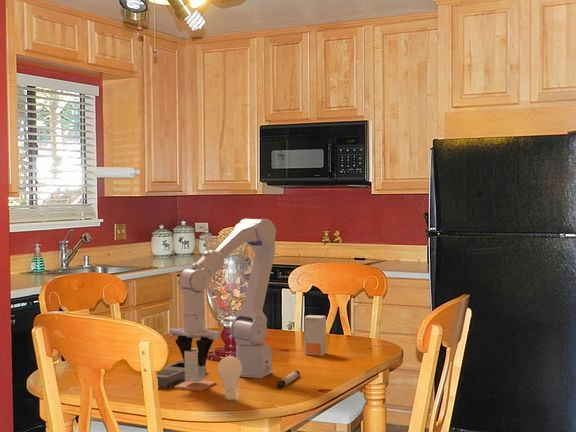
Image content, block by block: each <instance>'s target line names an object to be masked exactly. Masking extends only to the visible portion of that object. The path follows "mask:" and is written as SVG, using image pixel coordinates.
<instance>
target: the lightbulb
mask: <svg viewBox="0 0 576 432" xmlns="http://www.w3.org/2000/svg"><path fill="white" fill-rule="evenodd" d="M216 371H217V373H218V376H219V378H220V379H221V382H222V385H223V390H224V397H225V399H227V400H228V401H233V400H234V399H236V393H237V392H236V390H237V388H238V387H237V385H238V381H239V379H240V375H241V372H242V365H241V362H240V361H239V360H238V359H237V358H236V356H233V355H229V356H227V355H226V356H224V357H223V358H222V359H221V358H220V360H219V362H218V365H217V370H216Z"/></svg>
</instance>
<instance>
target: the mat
mask: <svg viewBox="0 0 576 432" xmlns="http://www.w3.org/2000/svg"><path fill="white" fill-rule="evenodd" d="M216 384H217V382H216V381H211V380H210V381H209V380H202V381H200V382H190V381H185V382H182V383H180V384H178V385H175V386H173V387H174V388H173V389H174V390H175V389H176V390H184V389H186V391H187V390H188V391H197V392H203V391H204V390H206V389H208V387H209V388H210V386H211V387H212V385H213V386H214V385H216Z"/></svg>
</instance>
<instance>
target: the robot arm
mask: <svg viewBox="0 0 576 432" xmlns="http://www.w3.org/2000/svg"><path fill="white" fill-rule="evenodd" d="M277 230H278V229H276V227H275V224H274V223H273V222H272V221H271V220H270V219H268V218H261V219H260V218H248V217H245V218H243V219H241V220H240V221H239V223H237V224H235V227H234V229H233V231H232V232H231V233H230V234H229V235H228V236H227V237H226V238H225V239H224V240H223V242H221V243H220V245H219V246H217V248H216V249H215V250H213V249H210V250H205V251H204V252H203V253H202V256H201V257H200V258H199V259H198V260H196V262H194V263H192V264H191V267H190V268H186V269H184V270H183V271H182V272H181V273H180V275H179V278H178V279H177V284H178V286H179V288H180V289H181V295H182V323H183V325H182V326H183V328H170V329H169V330H168V336H169V337H170V338H173V337H174V338H175V337H176V339H175V344H176V345H177V347H178V348H179V349H178V350H179V351H180V354H181V356H182V357H181V358H182V360H184V351H186V350H188V349H191V348H192V346H193V345H192V343H193V339H198V340H196V341H195V344H196V346H197V348H196V349H198V354H199V366H204V365H205V364H206V365H207V358H208V354H209V351H210V349H211V346H212V345H213V343H214V341H217V340H220V339H221V333H220V331H217V330H216V331H215V330H210V329H206V315H205V310H206V309H205V307H206V306H205V290H206V289H207V288H208V286H209V283H210V280H211V278H212V277H213V276H214V275H215V274H217V273H218V272H219V270H221V268H224V267H223V266H224V265H225V259H226V258H227V257H229V256H230V255H231V254H232V253H233V252H234V251H236V250H237V249H238V248H240V246H242V244H244V243H246V244H247V245H248V246H250V248H251V249H252V250H253V253H254V258H253V262H252V267H251V272H250V276H249V279H248V285H247V288H246V293H245V298H244V303H243V307H241V308H240V309H239V310H238V311H237V312H236V313H235V318H234V319H233V321H232V323H231V325H230V334H231V336H232V338H234V343H235V347H236V348H235V350H236V351H235V352H236V354H235V355H236V356H235V357H236V358H237V359H238V360H239V361H240V362H241V365H242V372H241V375H240V377H241V378H251V379H263V378H265V377H266V376H269V375H270V374H272V373H273V370H272V348H271V346H270V345H269V344H265V343H264V341H265V339H266V338H267V335H268V327H267V326H268V325H267V322H268V317H267V316H266V314H265V313H264V311H263V310H264V305H265V300H266V295H267V291H268V287H269V282H270V276H271V272H272V268H273V264H274V258H275V253H276V243H275V242H276V241H275V239H276V236H277ZM184 364H185V361H184ZM240 377H239V378H240Z"/></svg>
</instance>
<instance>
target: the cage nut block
mask: <svg viewBox="0 0 576 432" xmlns="http://www.w3.org/2000/svg"><path fill="white" fill-rule="evenodd" d="M184 361H185V381H190V382H200V381H205V380H206V372H205V365H204V366H199V354H198V348H195V347H191V349H188V350H186V351H184Z"/></svg>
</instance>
